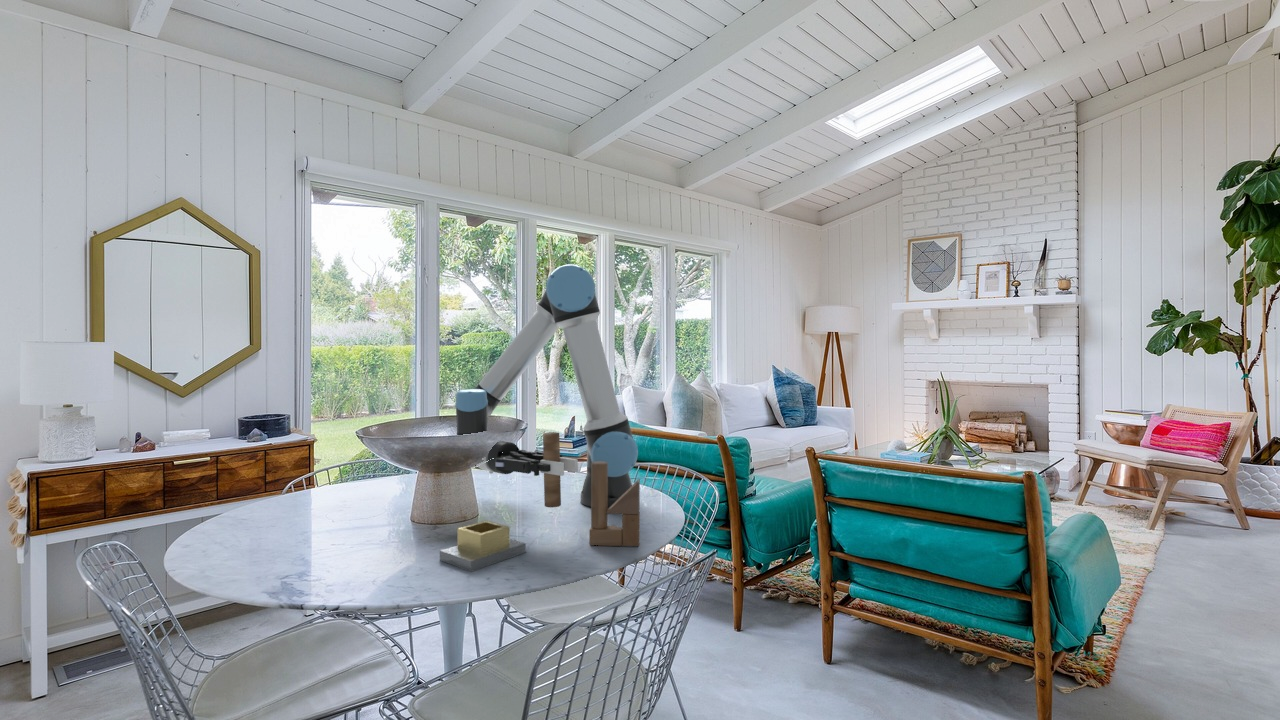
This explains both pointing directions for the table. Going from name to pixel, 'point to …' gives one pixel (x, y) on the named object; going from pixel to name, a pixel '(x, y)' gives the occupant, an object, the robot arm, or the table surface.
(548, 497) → the wooden cylinder
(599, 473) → the wooden block stack
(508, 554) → the yellow socket on base
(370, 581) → the table surface
